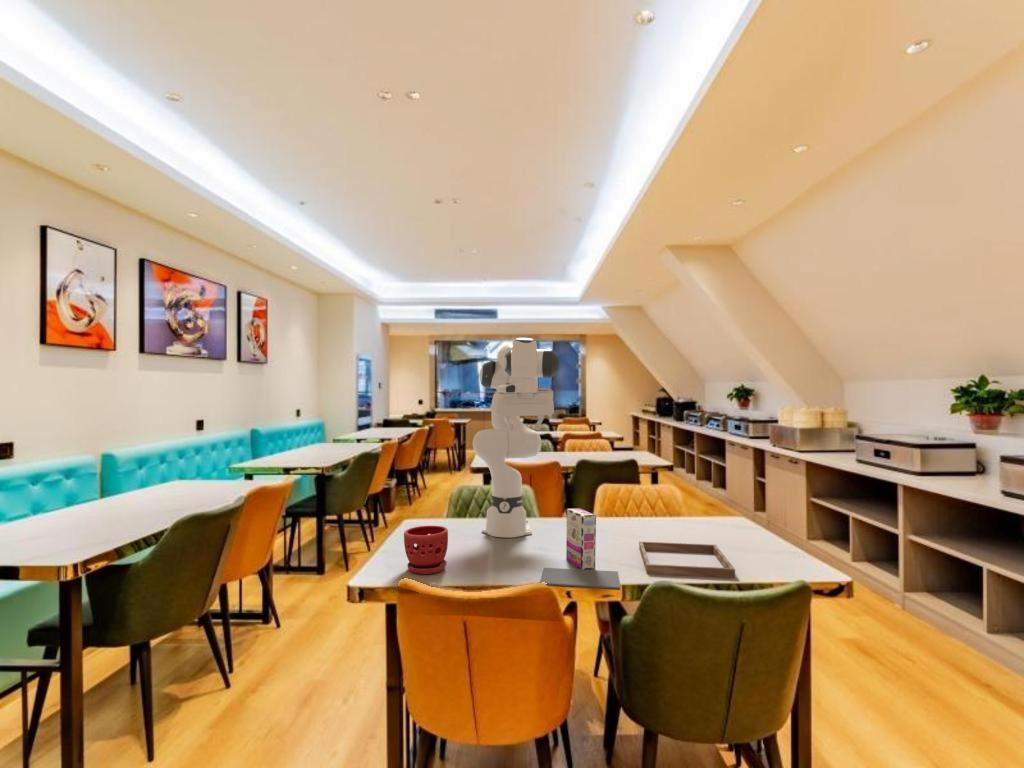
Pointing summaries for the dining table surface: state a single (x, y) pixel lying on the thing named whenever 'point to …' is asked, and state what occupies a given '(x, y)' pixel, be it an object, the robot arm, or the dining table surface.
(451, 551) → the dining table surface
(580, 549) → the candy bar box
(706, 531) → the dining table surface
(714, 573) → the serving tray rim
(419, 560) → the plant pot
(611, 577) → the mat
